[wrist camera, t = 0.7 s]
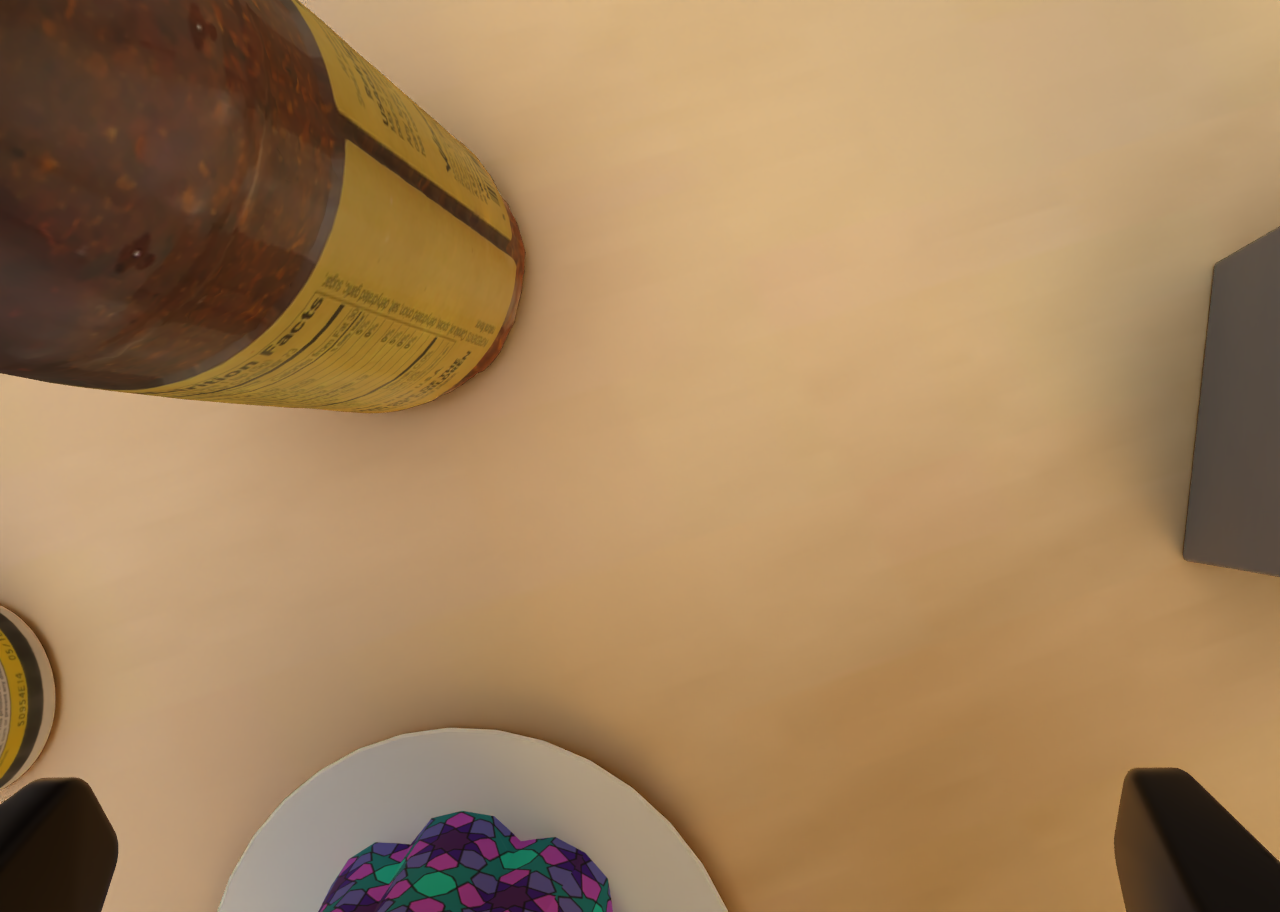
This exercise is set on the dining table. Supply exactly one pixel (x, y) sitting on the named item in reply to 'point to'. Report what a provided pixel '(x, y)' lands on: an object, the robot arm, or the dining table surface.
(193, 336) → the sauce bottle
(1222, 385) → the block
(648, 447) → the dining table surface
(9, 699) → the supplement bottle
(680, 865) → the pudding
